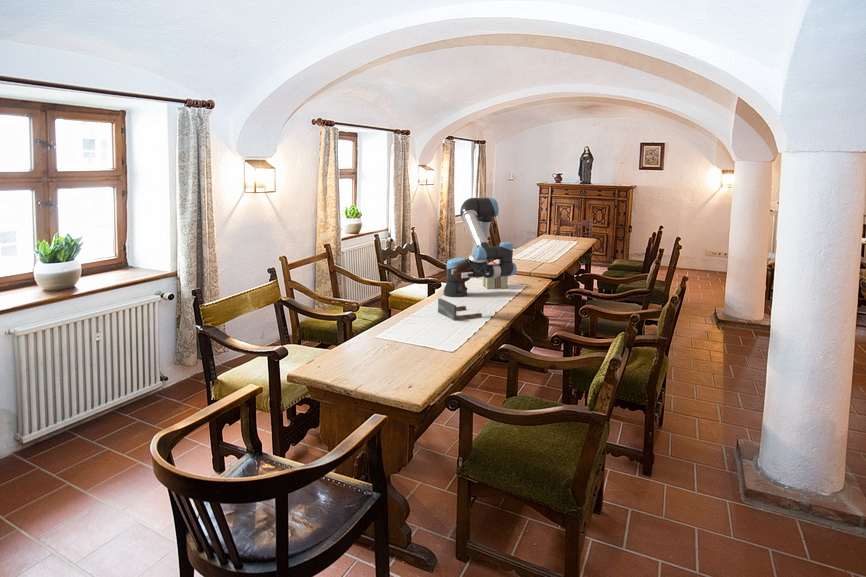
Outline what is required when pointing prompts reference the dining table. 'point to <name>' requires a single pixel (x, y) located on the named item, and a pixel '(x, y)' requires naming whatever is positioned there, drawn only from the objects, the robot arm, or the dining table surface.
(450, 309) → the frame
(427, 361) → the dining table surface
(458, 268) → the ice cream bowl
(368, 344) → the dining table surface
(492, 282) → the gift box
